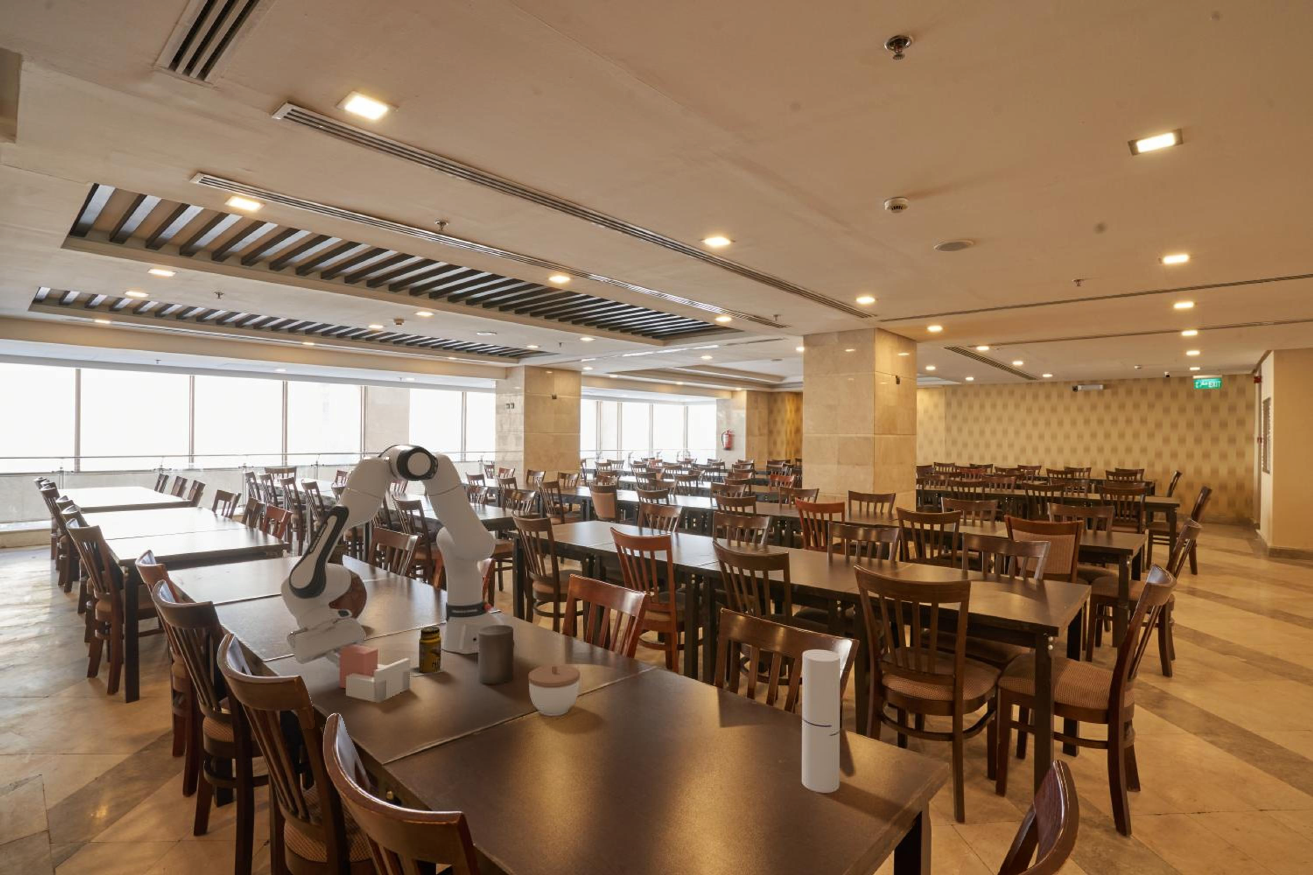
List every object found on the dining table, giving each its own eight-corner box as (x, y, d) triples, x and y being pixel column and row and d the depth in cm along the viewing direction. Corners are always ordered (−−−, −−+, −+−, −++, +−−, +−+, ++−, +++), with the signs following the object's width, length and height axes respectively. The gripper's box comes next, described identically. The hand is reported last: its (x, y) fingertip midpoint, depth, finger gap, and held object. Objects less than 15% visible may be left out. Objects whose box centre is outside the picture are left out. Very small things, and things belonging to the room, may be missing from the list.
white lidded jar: (588, 703, 167) (588, 660, 167) (565, 723, 155) (565, 677, 155) (543, 697, 171) (544, 654, 171) (518, 716, 159) (518, 670, 160)
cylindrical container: (797, 774, 133) (797, 649, 133) (831, 773, 133) (832, 649, 133) (808, 793, 125) (809, 661, 126) (844, 791, 126) (845, 660, 126)
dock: (345, 695, 172) (346, 664, 172) (378, 681, 181) (378, 652, 181) (378, 702, 167) (378, 671, 167) (409, 688, 176) (410, 658, 177)
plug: (339, 686, 177) (339, 649, 177) (353, 680, 181) (353, 644, 181) (363, 691, 173) (364, 653, 173) (377, 686, 177) (377, 649, 177)
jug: (379, 626, 235) (379, 542, 235) (320, 641, 217) (321, 550, 217) (343, 617, 247) (344, 537, 247) (285, 631, 229) (285, 544, 229)
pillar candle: (520, 678, 185) (520, 624, 185) (490, 687, 178) (490, 631, 178) (500, 670, 192) (500, 618, 192) (470, 678, 184) (471, 624, 185)
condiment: (444, 671, 190) (445, 629, 190) (414, 677, 185) (414, 634, 185) (438, 664, 196) (438, 623, 196) (408, 669, 191) (408, 628, 192)
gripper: (289, 626, 173) (315, 669, 169) (354, 608, 192) (379, 646, 188) (278, 641, 175) (303, 684, 171) (343, 622, 194) (367, 660, 190)
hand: (343, 664), depth 180 cm, fingers closed
